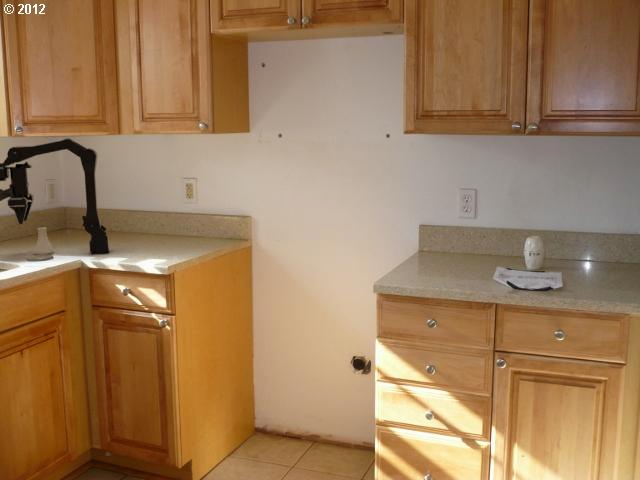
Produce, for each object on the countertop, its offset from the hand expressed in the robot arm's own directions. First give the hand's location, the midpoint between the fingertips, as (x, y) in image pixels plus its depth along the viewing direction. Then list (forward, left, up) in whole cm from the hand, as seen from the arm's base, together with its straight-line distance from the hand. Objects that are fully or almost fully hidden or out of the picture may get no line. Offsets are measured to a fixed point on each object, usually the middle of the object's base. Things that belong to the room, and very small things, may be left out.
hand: (22, 222), depth 265 cm
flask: (-6, -4, -13) cm, 15 cm away
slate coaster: (-6, +7, -13) cm, 16 cm away
